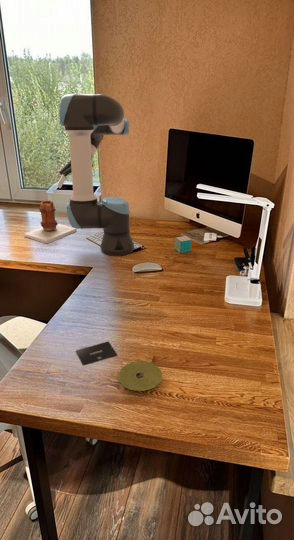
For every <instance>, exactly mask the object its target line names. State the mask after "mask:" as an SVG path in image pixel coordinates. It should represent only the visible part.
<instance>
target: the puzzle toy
mask: <svg viewBox="0 0 294 540" xmlns="http://www.w3.org/2000/svg"><path fill="white" fill-rule="evenodd" d="M192 241H193V240H192V239H191V238H190V237H188V236H186V235H184V236H178V237H175V238H174V250H175V251H177V252H178V253H180V254H184V253H185V254H186V253H189V252H192V245H193V244H192V243H193V242H192Z"/></svg>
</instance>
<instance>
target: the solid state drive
mask: <svg viewBox="0 0 294 540" xmlns="http://www.w3.org/2000/svg"><path fill="white" fill-rule="evenodd" d="M75 352H76V354H77V356H78V359H79V360H80V362H81V364H82V366H86V365H89V364H93V363H96V362H99V361H103V360H106V359H110V358H113V357H117V355H118V354H117V351H115V349H114V348H113V346H112V344H111V342H110V341H105V342H100V343H97V344H94V345H90V346H87V347H83V348H80V349H76V350H75Z"/></svg>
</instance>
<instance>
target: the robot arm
mask: <svg viewBox="0 0 294 540" xmlns="http://www.w3.org/2000/svg"><path fill="white" fill-rule="evenodd" d="M124 110H125V109H124V107H123V106H122V104H121V103H120V102H119V101H118V100H116V99H115V98H113V97H111V96H109V95H107V94H100V93H97V94H93V93H90V94H89V93H87V94H86V93H83V94H82V93H71V94H70V93H69V94H65V95H63V96H62V97H61V99H60V104H59V112H58V113H59V115H58V116H59V117H58V118H59V123H60V126H62V127H64V132H66V134H68V139H69V153H70V160H69V161H68V163H67V164H66V165H64V167H62V168H61V170H59V172H58V173H59V174H60V176H59V178H58V182H56V186H57V187H58V188H59V189H61V188H62V186H63V184H64V183H65V181H66V180H67V176H68V175H70V174H71V180H72V193H73V194H72V195H71V196H70V197H69V201H68V202H66V214H67V220H68V223H69V226H70V227H73V228H76V229H81V230H83V229H103V236H102V240H101V243H100V252H101V253H102V254H104V255H107V256H112V257H120V256H121V257H122V256H127V255H129V254H131V253H133V252H134V251H133V249H134V250H135V243H134V242H133V238H132V235H131V225H130V213H131V210H130V204H129V202H128V201H127V200H126V199H124V198H120V197H117V196H108V197H106V196H105V197H103V198H101V199H102V200H101V201H98V196H97V195H95V193H94V179H93V177H94V176H93V166H94V163H93V158H94V156H95V155H96V153H97V150H98V148H99V146H100V145H101V143H102V141H103V140H104V137H105V136H108V135H110V136H112V135H113V136H114V135H116V136H125V135H126V136H127V135H129V134H130V120H129V119H128V118H125V112H124Z"/></svg>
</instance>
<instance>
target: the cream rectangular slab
mask: <svg viewBox="0 0 294 540" xmlns="http://www.w3.org/2000/svg"><path fill="white" fill-rule="evenodd" d="M77 229H78V228H73V227H72V226H70V225H69V226H68V225H65V224H60V223H58V225H57V226H56V229H55V230H53V231H45V230H43V227H42V226H41V227H39V228H36V229H33V230H30V231H28V232H26V233H24V234H23V235H24V238H28V239H31V240H34V241H38V242H41V243H43V244H49V243H52V242H55V241H57V240H60V239H62V238H64V237H67V236H69V235H71V234H73V233H76V232H77V231H78V230H77Z"/></svg>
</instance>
